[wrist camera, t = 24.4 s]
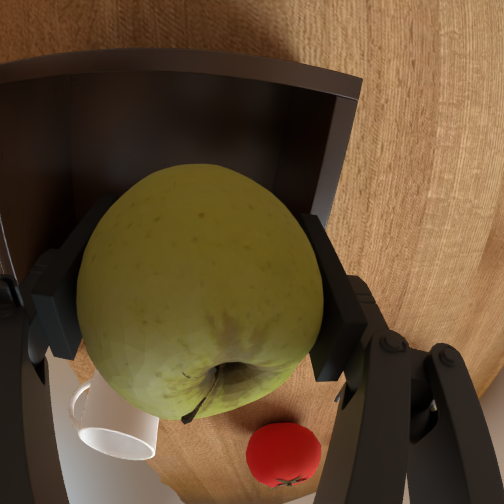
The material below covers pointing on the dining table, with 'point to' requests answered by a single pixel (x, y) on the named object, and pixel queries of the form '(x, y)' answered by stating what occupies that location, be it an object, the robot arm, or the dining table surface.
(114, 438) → the mug
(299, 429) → the tomato
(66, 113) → the chest
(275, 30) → the dining table surface
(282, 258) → the apple
